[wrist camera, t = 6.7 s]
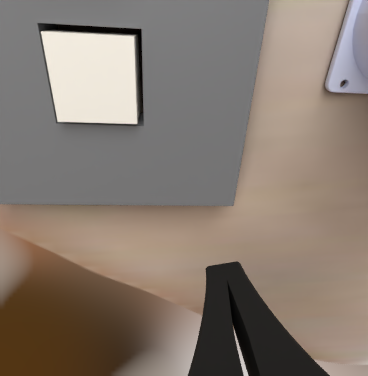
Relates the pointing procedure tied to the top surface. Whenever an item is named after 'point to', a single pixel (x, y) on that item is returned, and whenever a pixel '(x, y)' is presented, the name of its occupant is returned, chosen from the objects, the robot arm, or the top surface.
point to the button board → (152, 105)
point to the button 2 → (94, 75)
